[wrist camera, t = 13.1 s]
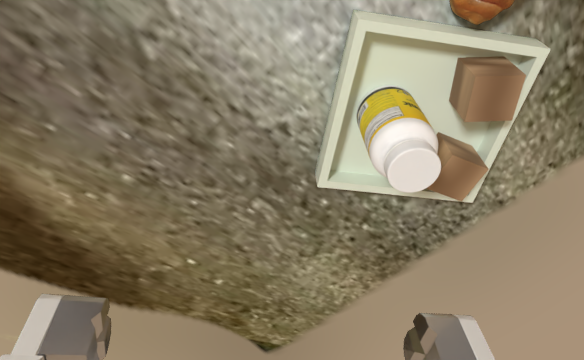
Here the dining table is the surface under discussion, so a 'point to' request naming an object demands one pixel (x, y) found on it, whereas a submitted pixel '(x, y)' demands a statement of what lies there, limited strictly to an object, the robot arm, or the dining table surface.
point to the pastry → (479, 9)
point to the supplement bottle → (399, 138)
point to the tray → (413, 91)
